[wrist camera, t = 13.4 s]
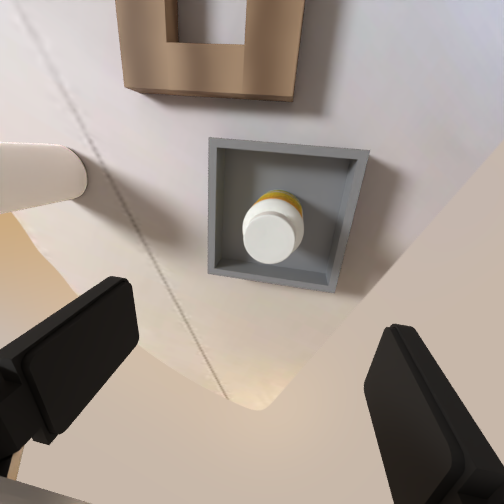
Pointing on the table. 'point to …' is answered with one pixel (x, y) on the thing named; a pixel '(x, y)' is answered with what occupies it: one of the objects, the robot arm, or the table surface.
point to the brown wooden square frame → (211, 52)
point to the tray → (297, 183)
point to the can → (38, 175)
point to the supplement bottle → (273, 227)
